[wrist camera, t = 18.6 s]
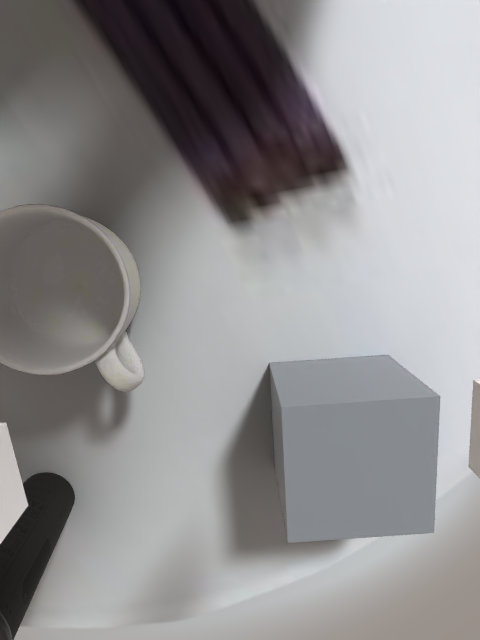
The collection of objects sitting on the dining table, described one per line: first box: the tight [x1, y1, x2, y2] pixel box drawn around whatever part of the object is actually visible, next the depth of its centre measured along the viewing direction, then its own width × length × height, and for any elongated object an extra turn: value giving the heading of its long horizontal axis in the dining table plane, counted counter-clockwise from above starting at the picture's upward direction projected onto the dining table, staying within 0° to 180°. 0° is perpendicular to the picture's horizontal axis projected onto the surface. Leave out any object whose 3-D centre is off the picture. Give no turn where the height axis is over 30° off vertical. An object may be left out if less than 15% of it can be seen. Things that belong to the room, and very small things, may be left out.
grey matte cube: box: [269, 355, 440, 543], centre depth 31 cm, size 10×10×9 cm
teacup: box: [0, 204, 144, 392], centre depth 29 cm, size 14×11×8 cm
